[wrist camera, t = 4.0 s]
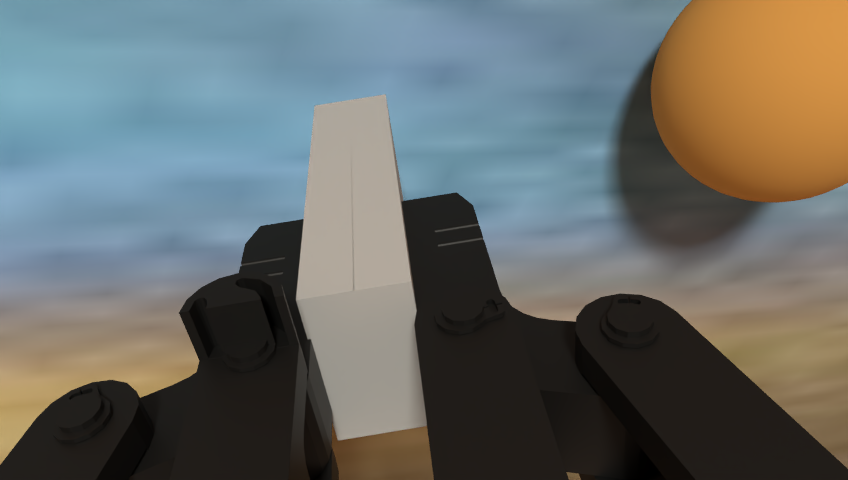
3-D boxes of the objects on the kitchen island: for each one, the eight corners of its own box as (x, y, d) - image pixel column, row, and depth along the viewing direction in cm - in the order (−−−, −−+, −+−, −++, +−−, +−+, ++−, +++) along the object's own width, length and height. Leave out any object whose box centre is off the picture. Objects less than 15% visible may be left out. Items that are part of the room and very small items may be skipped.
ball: (844, -80, 17) (1034, -35, 12) (804, 127, 20) (943, 226, 15) (622, -45, 16) (727, 12, 12) (616, 156, 19) (698, 264, 15)
